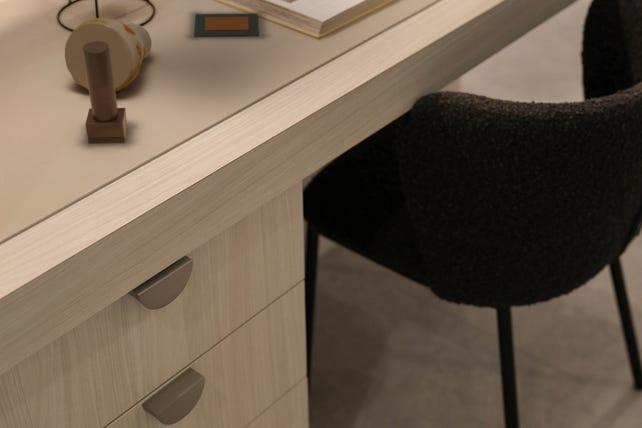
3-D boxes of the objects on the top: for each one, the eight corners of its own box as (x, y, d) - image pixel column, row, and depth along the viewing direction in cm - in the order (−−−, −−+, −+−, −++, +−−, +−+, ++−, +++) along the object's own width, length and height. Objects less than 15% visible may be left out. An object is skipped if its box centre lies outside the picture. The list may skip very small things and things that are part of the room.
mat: (194, 39, 94) (194, 34, 93) (195, 17, 98) (195, 13, 98) (259, 38, 94) (258, 34, 94) (257, 16, 99) (257, 12, 98)
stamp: (88, 145, 77) (74, 54, 71) (92, 129, 79) (78, 39, 73) (125, 145, 77) (113, 53, 72) (128, 129, 79) (116, 39, 74)
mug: (172, 55, 91) (166, -2, 82) (128, 129, 87) (116, 78, 78) (108, 28, 91) (94, -32, 82) (62, 100, 88) (42, 46, 79)
